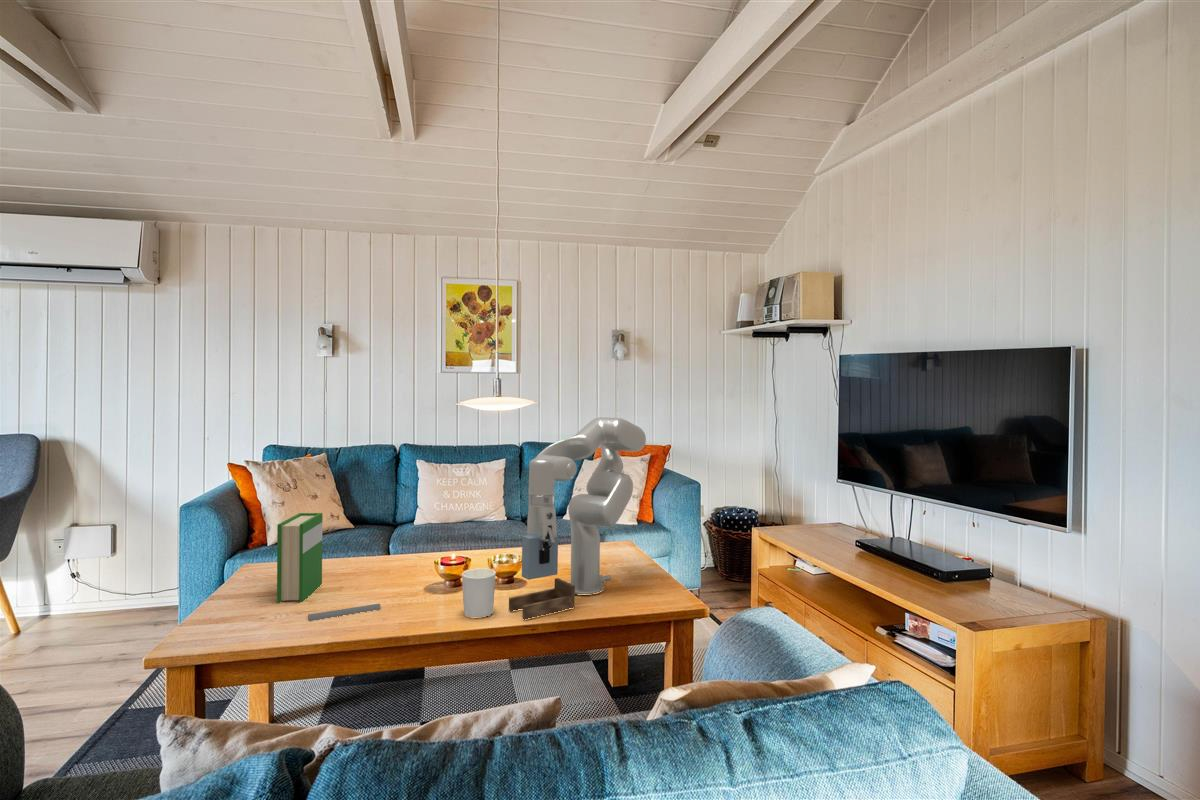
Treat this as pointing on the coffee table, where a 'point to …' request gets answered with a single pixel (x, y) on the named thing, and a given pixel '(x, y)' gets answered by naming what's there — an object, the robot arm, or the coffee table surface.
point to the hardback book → (299, 556)
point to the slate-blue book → (537, 558)
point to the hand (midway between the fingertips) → (540, 560)
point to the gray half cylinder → (343, 612)
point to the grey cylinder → (478, 592)
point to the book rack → (545, 600)
